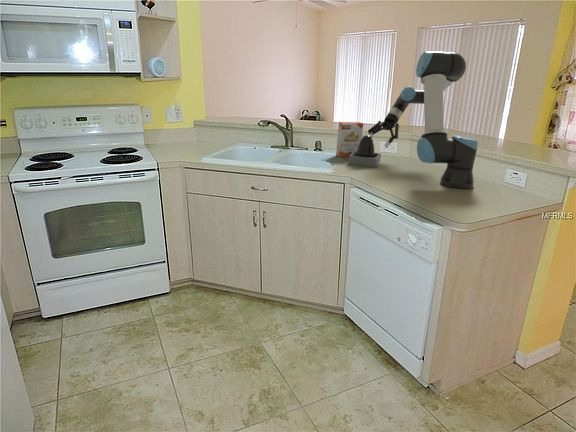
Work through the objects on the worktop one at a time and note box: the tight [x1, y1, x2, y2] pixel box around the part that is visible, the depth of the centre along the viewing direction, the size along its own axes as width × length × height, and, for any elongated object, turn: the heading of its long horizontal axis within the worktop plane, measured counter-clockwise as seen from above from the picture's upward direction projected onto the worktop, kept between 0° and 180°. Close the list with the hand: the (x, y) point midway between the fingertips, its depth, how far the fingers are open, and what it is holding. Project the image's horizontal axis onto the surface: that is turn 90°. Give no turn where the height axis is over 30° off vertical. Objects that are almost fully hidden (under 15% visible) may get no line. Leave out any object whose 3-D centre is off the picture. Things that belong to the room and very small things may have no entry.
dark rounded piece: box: [357, 134, 376, 158], centre depth 226 cm, size 10×10×15 cm
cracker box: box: [335, 121, 364, 158], centre depth 241 cm, size 14×6×21 cm, turn 105°
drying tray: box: [348, 151, 382, 168], centre depth 228 cm, size 16×16×5 cm
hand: (376, 144), depth 232 cm, fingers open, 13 cm apart
